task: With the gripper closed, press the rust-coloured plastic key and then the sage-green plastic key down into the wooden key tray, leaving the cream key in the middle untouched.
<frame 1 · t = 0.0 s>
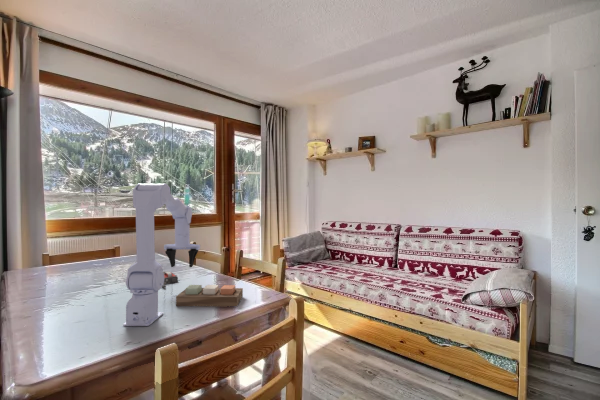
hand: (182, 266, 120), 10 cm above the table, tool pointing down, fingers open, 7 cm apart
walkie-talkie: (166, 283, 132), on the table
key rust: (228, 289, 108), point 4 cm above the table, slide at 0.0 cm
key sage: (193, 289, 108), point 4 cm above the table, slide at 0.0 cm
wooden key tray: (210, 301, 108), on the table
key cream: (210, 289, 108), point 4 cm above the table, slide at 0.0 cm
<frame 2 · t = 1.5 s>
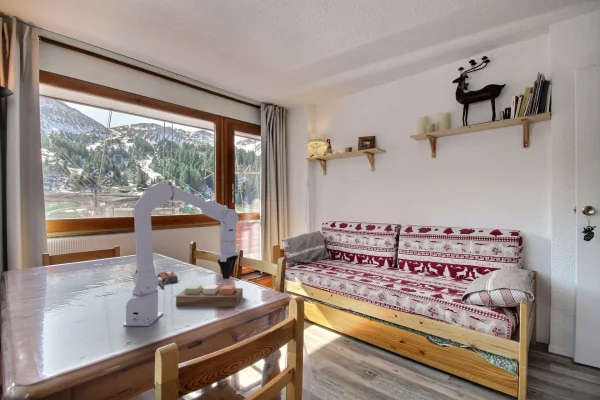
hand: (228, 276, 108), 9 cm above the table, tool pointing down, fingers open, 5 cm apart
nothing on the table moved.
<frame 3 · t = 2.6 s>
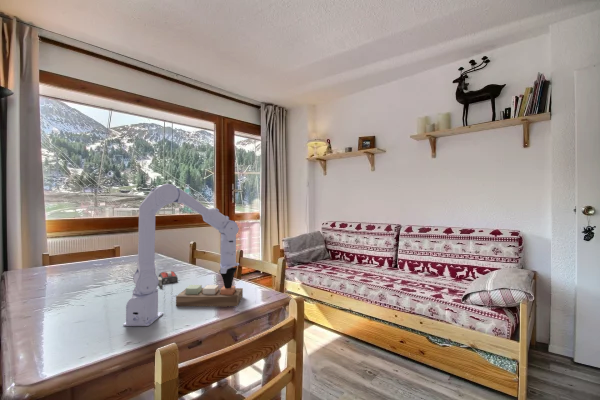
hand: (228, 287, 108), 5 cm above the table, tool pointing down, fingers closed, pressing on key rust
key rust: (228, 290, 108), point 4 cm above the table, slide at 0.2 cm, touching gripper
everything else where it was.
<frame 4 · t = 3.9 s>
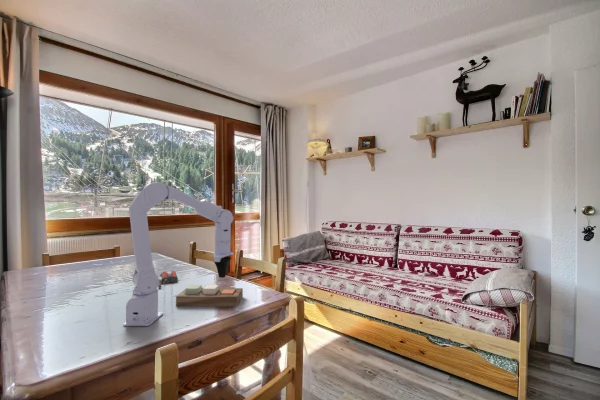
hand: (222, 277, 108), 9 cm above the table, tool pointing down, fingers closed
key rust: (228, 294, 108), point 3 cm above the table, slide at 1.6 cm
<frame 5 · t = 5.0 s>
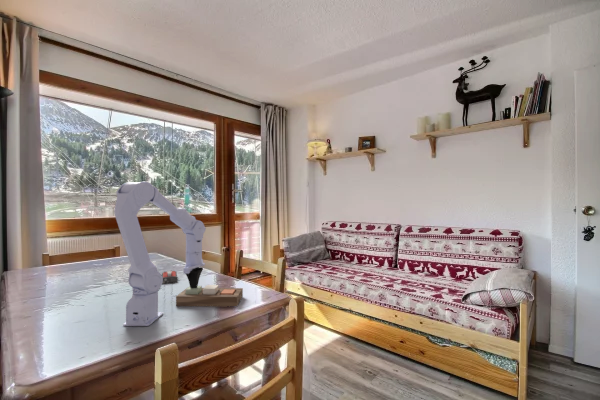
hand: (193, 287, 108), 5 cm above the table, tool pointing down, fingers closed, pressing on key sage
key sage: (193, 290, 108), point 4 cm above the table, slide at 0.4 cm, touching gripper
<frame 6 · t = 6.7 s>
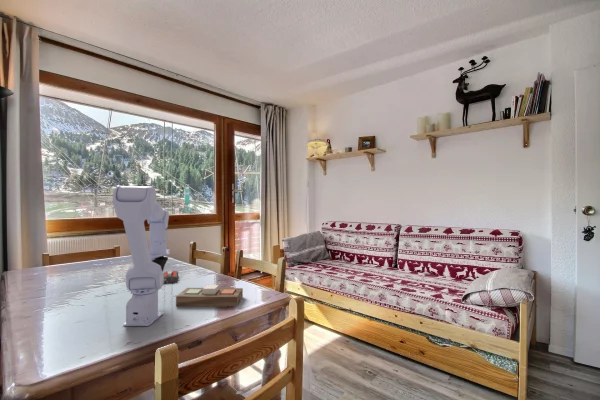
hand: (157, 277, 106), 9 cm above the table, tool pointing down, fingers closed
key sage: (193, 293, 108), point 3 cm above the table, slide at 1.7 cm
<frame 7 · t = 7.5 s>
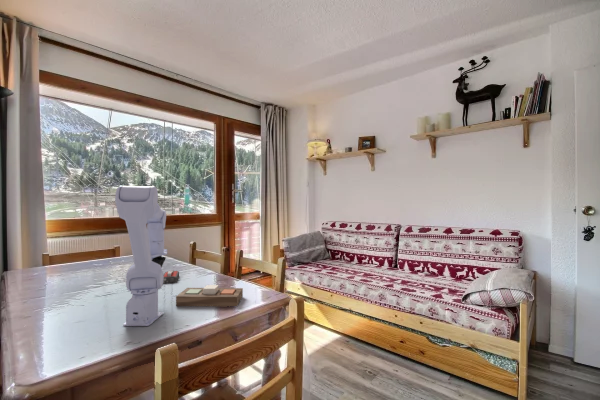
hand: (155, 277, 106), 9 cm above the table, tool pointing down, fingers closed
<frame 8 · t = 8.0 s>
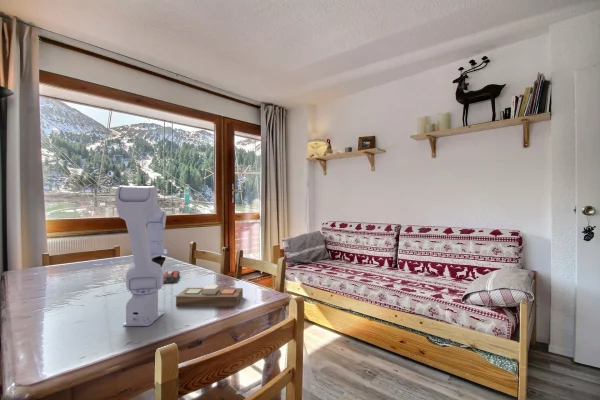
hand: (155, 277, 106), 9 cm above the table, tool pointing down, fingers closed
at the end: key rust slide at 1.6 cm; key sage slide at 1.7 cm; key cream slide at 0.0 cm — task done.
